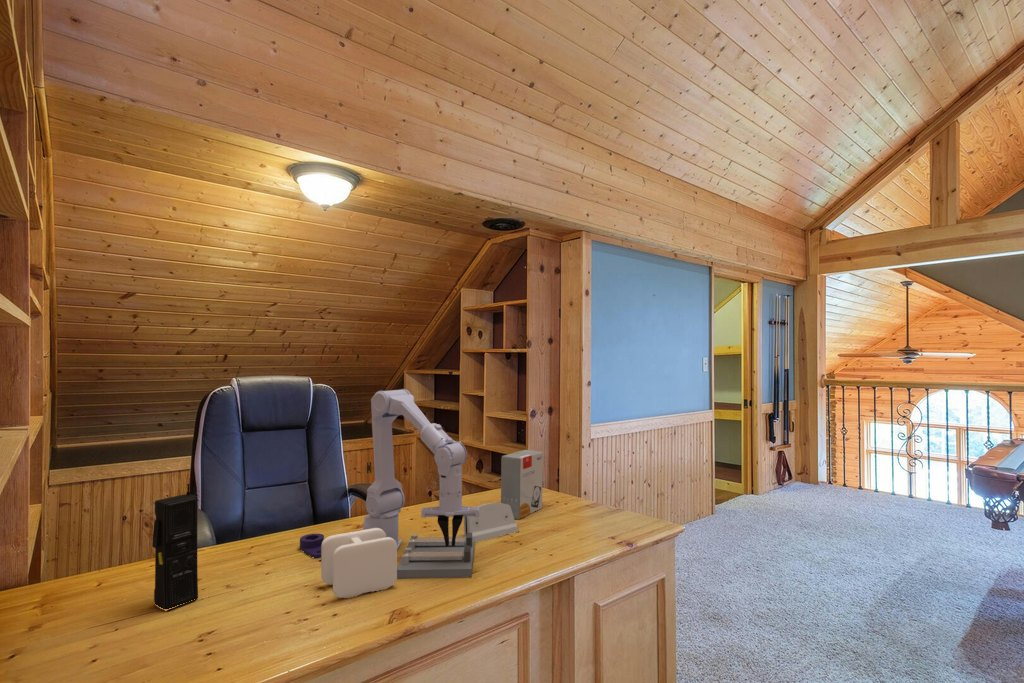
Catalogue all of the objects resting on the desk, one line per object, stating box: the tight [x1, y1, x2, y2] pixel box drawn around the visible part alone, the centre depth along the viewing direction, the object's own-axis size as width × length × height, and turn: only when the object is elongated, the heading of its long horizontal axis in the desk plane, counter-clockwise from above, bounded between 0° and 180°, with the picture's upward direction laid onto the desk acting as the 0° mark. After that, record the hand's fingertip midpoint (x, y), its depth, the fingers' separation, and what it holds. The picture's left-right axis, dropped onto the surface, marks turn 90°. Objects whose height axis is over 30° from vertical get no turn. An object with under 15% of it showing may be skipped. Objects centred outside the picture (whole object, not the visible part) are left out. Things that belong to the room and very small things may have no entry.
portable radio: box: [151, 483, 199, 609], centre depth 115 cm, size 8×6×25 cm
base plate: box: [397, 533, 476, 579], centre depth 138 cm, size 18×22×5 cm
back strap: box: [410, 537, 465, 546], centre depth 143 cm, size 15×3×1 cm, turn 92°
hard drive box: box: [500, 449, 544, 520], centre depth 179 cm, size 16×8×20 cm, turn 147°
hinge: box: [463, 502, 520, 543], centre depth 158 cm, size 17×5×10 cm, turn 124°
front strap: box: [405, 551, 463, 560], centre depth 133 cm, size 15×3×1 cm, turn 92°
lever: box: [299, 533, 325, 559], centre depth 145 cm, size 12×6×3 cm, turn 35°
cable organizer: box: [320, 528, 398, 599], centre depth 123 cm, size 15×11×12 cm
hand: (450, 545), depth 133 cm, fingers closed
